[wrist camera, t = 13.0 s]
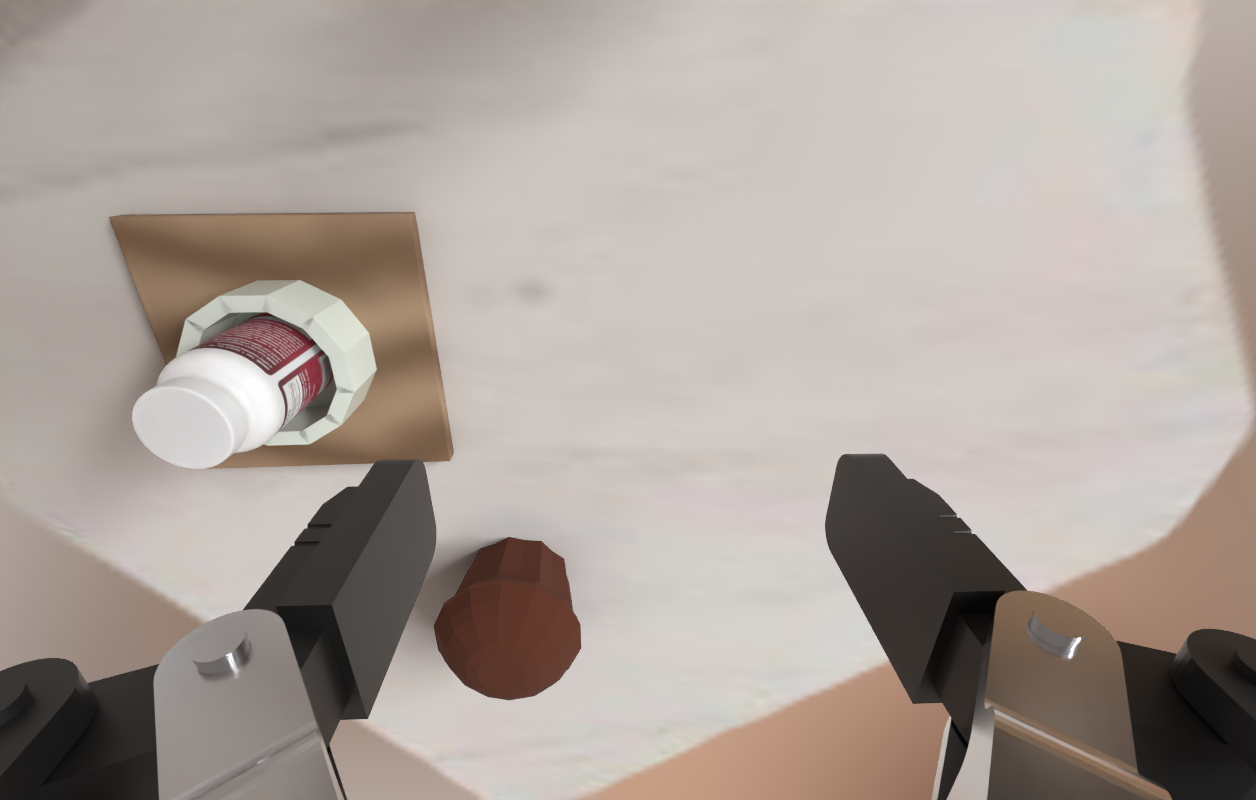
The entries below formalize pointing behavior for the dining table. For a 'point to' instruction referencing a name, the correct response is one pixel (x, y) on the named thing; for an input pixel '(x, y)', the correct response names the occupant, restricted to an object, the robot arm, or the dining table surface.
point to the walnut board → (333, 262)
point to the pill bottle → (231, 392)
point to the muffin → (510, 621)
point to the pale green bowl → (324, 325)
